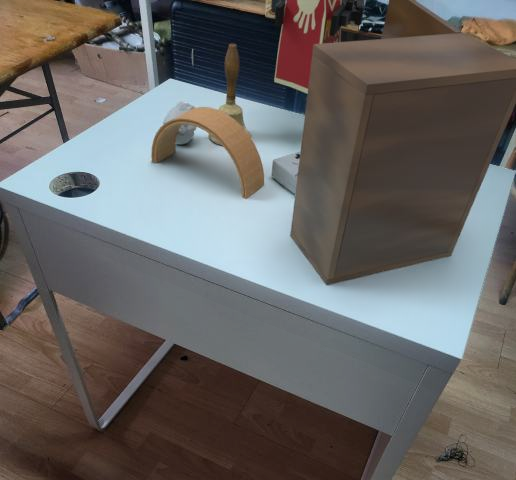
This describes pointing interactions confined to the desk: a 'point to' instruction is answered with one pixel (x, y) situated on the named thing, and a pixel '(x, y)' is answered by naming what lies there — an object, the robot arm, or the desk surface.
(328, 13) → the milk carton
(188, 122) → the arch
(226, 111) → the hand bell
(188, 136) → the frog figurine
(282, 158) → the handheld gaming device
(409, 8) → the cupboard door
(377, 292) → the desk surface
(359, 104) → the cupboard
